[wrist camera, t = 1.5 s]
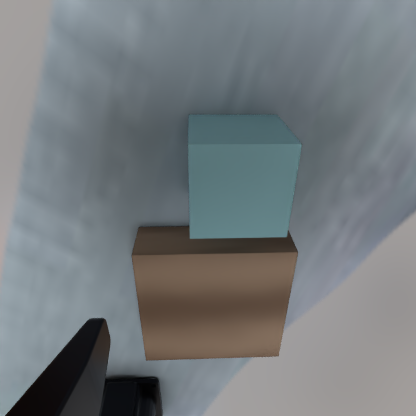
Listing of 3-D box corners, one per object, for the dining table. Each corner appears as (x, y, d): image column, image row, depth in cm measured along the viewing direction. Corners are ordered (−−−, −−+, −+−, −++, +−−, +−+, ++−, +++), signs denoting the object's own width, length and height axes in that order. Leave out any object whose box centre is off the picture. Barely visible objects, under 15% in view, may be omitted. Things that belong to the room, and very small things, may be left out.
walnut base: (270, 324, 28) (278, 356, 25) (150, 327, 27) (146, 360, 25) (286, 224, 22) (298, 252, 20) (138, 227, 22) (131, 255, 19)
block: (267, 191, 21) (286, 237, 17) (190, 192, 21) (189, 238, 17) (276, 114, 19) (302, 144, 14) (188, 114, 18) (187, 144, 14)
